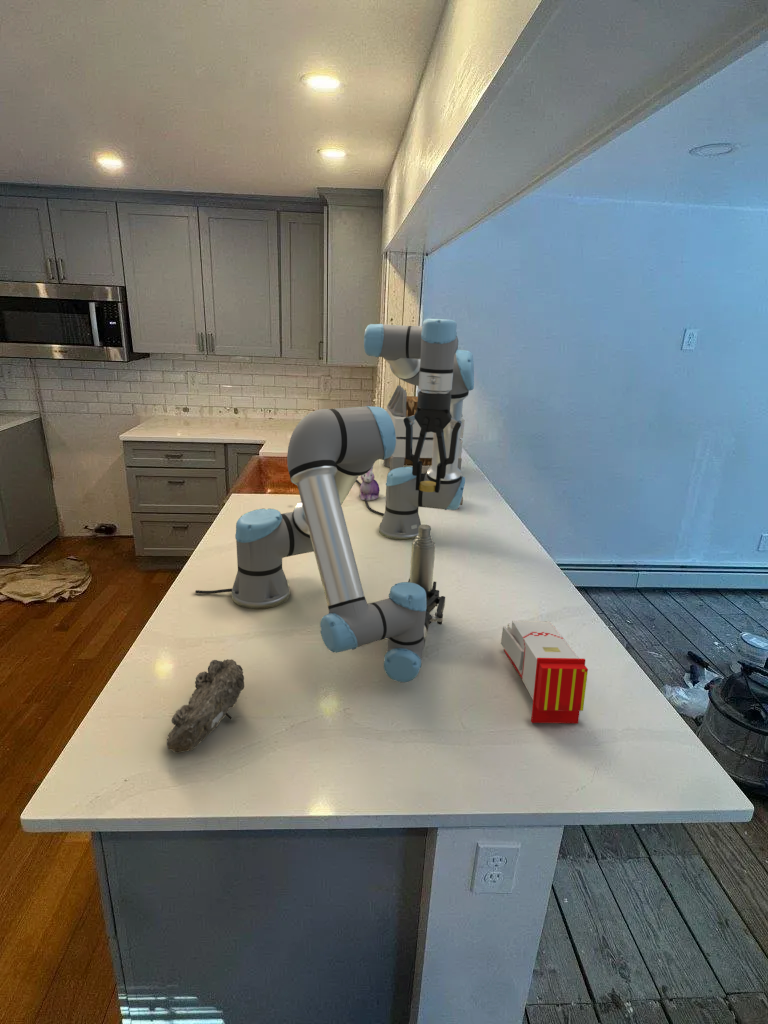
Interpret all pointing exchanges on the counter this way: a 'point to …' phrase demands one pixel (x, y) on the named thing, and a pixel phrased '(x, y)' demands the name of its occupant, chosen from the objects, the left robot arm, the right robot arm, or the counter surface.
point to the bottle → (423, 560)
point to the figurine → (369, 487)
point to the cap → (427, 486)
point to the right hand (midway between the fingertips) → (427, 489)
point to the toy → (547, 670)
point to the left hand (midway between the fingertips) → (422, 584)
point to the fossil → (206, 705)
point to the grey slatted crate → (398, 411)
